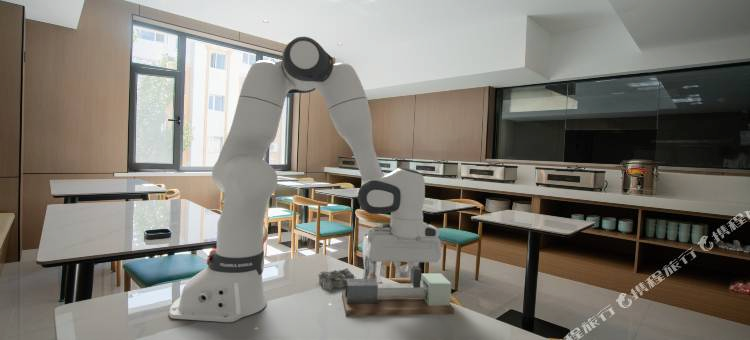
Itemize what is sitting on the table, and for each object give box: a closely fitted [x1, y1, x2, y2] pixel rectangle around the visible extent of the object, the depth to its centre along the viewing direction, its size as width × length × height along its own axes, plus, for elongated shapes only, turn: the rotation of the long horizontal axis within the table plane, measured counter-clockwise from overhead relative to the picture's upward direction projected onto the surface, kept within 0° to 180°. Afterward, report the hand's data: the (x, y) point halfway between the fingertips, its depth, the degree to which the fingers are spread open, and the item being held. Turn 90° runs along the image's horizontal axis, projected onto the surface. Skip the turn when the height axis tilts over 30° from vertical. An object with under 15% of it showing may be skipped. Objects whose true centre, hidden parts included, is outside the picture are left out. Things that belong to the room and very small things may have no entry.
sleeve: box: [344, 278, 378, 304], centre depth 99 cm, size 8×5×5 cm, turn 100°
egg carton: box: [317, 268, 357, 290], centre depth 114 cm, size 11×8×4 cm
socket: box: [420, 272, 452, 306], centre depth 102 cm, size 6×8×8 cm
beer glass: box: [361, 233, 383, 284], centre depth 117 cm, size 7×7×15 cm
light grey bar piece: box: [377, 265, 428, 299], centre depth 100 cm, size 21×3×8 cm, turn 100°
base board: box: [341, 291, 455, 317], centre depth 100 cm, size 29×12×2 cm, turn 100°
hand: (402, 277), depth 100 cm, fingers closed
